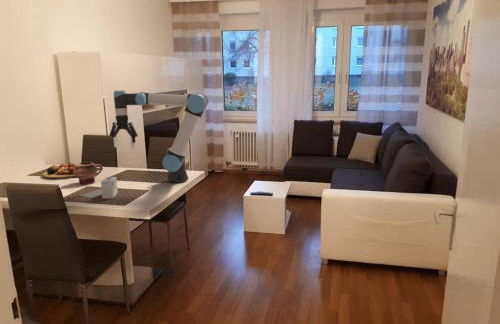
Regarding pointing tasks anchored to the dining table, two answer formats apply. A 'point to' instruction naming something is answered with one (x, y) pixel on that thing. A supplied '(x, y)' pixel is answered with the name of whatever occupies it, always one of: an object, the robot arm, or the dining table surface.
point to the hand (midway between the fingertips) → (124, 147)
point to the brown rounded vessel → (86, 172)
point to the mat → (92, 194)
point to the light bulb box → (109, 187)
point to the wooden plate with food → (60, 172)
